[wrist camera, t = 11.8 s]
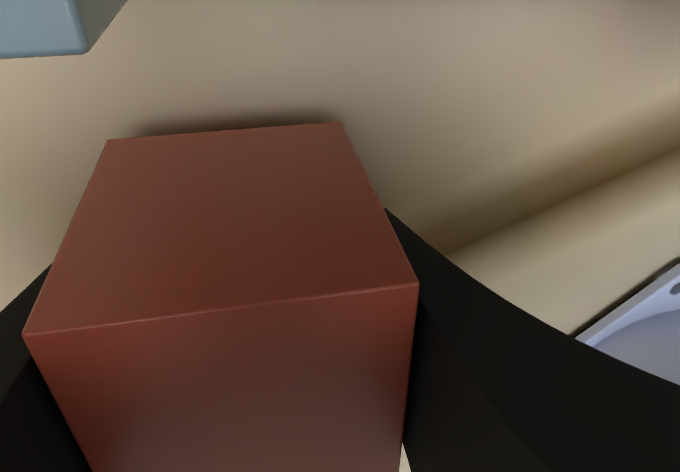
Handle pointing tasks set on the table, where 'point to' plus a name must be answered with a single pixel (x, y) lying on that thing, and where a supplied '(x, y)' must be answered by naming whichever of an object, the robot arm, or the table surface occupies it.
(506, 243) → the table surface
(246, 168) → the block
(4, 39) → the drawer
